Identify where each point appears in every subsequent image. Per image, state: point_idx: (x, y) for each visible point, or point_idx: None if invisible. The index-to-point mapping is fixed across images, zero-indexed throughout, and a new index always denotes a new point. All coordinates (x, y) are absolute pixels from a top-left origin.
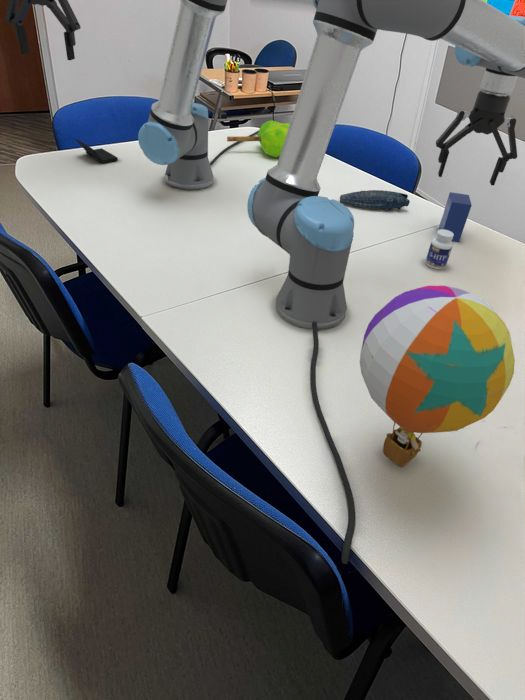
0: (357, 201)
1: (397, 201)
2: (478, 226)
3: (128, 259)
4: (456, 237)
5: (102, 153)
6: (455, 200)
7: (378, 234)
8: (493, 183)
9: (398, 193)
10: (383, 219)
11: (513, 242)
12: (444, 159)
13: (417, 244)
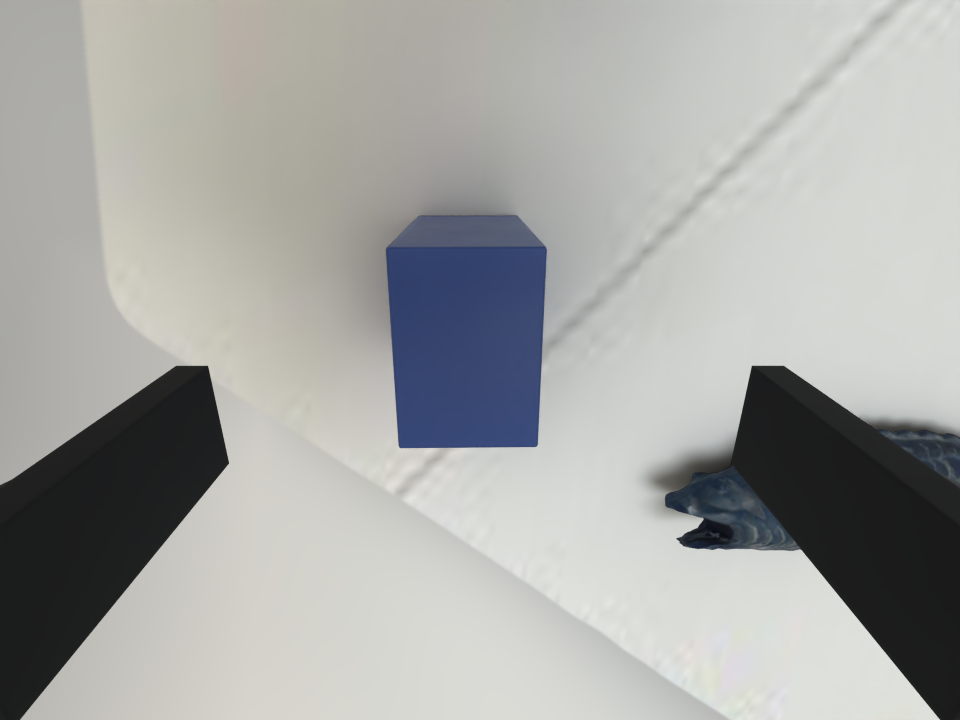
0: (938, 444)
1: (739, 486)
2: (315, 439)
3: None
4: (437, 217)
5: None
6: (512, 296)
7: (859, 149)
8: (177, 373)
9: (753, 532)
10: (790, 350)
11: (140, 321)
12: (940, 478)
13: (653, 96)
